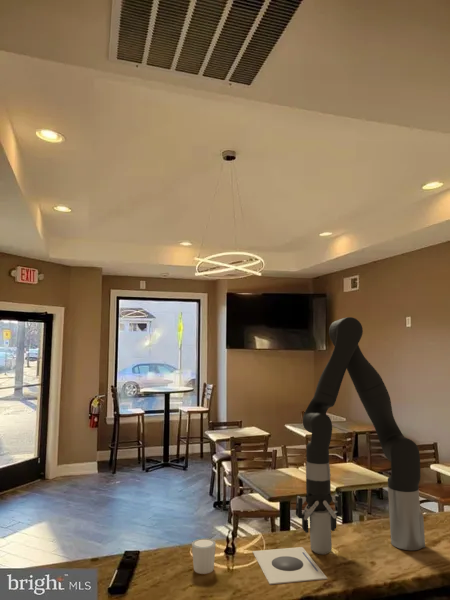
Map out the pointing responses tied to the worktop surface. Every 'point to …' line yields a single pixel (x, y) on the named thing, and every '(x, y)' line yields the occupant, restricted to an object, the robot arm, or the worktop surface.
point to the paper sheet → (288, 565)
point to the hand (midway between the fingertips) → (319, 531)
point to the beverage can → (320, 532)
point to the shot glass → (203, 555)
